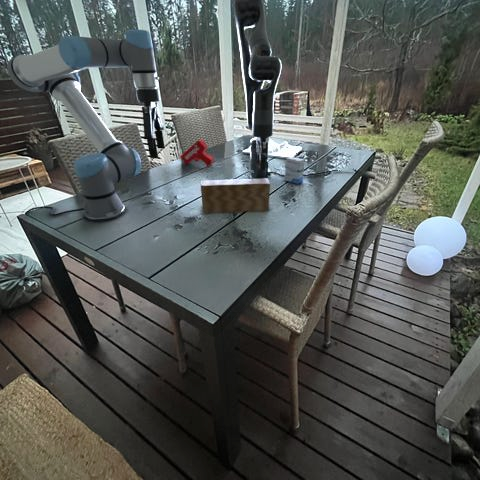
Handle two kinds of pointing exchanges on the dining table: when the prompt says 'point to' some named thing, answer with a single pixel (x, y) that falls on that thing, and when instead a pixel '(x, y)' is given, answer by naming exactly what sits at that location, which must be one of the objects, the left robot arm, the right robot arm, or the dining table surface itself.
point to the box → (235, 195)
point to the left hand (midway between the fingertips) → (158, 152)
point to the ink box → (294, 170)
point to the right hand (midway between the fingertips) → (261, 166)
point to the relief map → (280, 150)
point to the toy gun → (197, 153)
